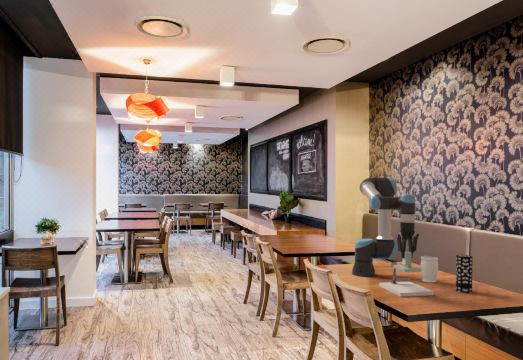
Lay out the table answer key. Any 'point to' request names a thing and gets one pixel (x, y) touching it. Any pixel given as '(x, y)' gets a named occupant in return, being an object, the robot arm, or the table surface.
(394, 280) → the grey angled block piece
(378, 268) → the table surface
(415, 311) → the table surface
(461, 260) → the white-spotted black cylinder
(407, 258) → the cover
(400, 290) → the lock base
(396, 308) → the table surface
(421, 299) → the table surface
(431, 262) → the jar
